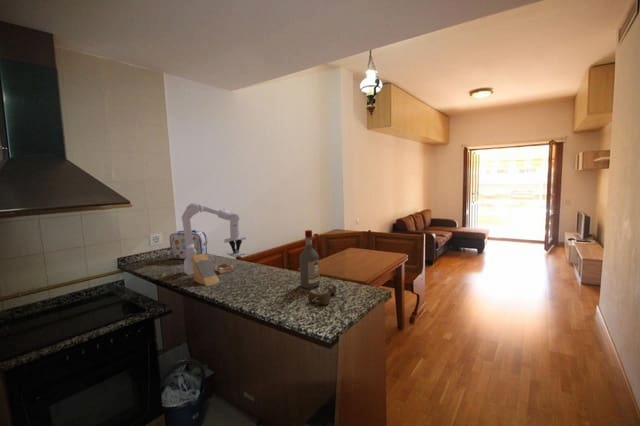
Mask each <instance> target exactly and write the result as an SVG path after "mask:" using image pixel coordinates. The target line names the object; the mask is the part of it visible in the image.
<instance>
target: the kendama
mask: <svg viewBox="0 0 640 426" xmlns="http://www.w3.org/2000/svg"><path fill="white" fill-rule="evenodd" d="M336 292H337V287H336V285H335V284H333V283H329V284H328V285H327V286H326V287H324V289H323V291H322V292H321V293H318V292H316V291H315V290H314V289H311V290H309V291H308V293H307V300H308V302H310V303H314V302H316V301H317V302H321V303H322V305H324V306H327V305H326V304H328V303H329V304H330V302H331V295H332V293H334V294H336ZM329 304H328V305H329Z"/></svg>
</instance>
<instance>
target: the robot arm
mask: <svg viewBox="0 0 640 426" xmlns="http://www.w3.org/2000/svg"><path fill="white" fill-rule="evenodd" d="M199 212H200V213H203V212H205V213H210V214H214V215H216V216H217V218H219V219H223V220H226V221H229V230H230V237H229V238H225V239H223V241H224V243H226V244H227V243H228V244H229V245H230V247H231V250H232V252H235V249H238V250H239V251H240V248H241V245H242V244H243V243H242V242H243V240H247V237H246V236H245V235H243V236H240V224H239V220H240V217H239V215H238V214H237V213H236V212H233V211H228V210H226V209H225V208H221V209H216V208H213V207H211V206H208V205H206V204H200V203H196V202H192V203H190V204H188V205H187V207H186V208H185V210H184V212H183V213H182V215H181V221H182V226H183V231H184V235H185V242H186V258H185V259H184V261H183V265H184V266H183V268H184V270H183V271H182V272H183V273H184V274H186V275H188V276H190V275H194V271H193V260H192V256H194V255H197V254H196V249H195V248H194V244H193V237H192V223H191V219H192V218H193V217H194V216H195V215H197V214H198V213H199Z"/></svg>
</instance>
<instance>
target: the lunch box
mask: <svg viewBox="0 0 640 426" xmlns="http://www.w3.org/2000/svg"><path fill="white" fill-rule="evenodd" d="M191 230H192V229H191ZM192 237H193V244H194V248H195V249H196V254H197V255H198V254H204V253H206V255H207V254H208V247H207V246H208V243H209V241H208V238H207V235H206V233H205V232H203V231H200V230H197V229H193V230H192ZM169 244H170V245H169V246H170V254H171V257H173V259H178V260H185V258H186V242H185V235H184V230H179V231H176V232H173V233H171V234H170V235H169Z"/></svg>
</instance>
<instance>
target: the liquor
mask: <svg viewBox="0 0 640 426" xmlns="http://www.w3.org/2000/svg"><path fill="white" fill-rule="evenodd" d="M304 237H305V247H304V250H303V251H302V252H301V253H300V254H299V274H300V276H299V277H300V278H299V279H300V280H299V281H300V286H301V287H302V288H305V287H306V289H314V287H315V288H317V287H319V286H318V285H320V284H321V282H320V281H321V280H320V255H319V253H318V252H317V251H316V250H315V249H314V247H313V230H312V229H311V230H309V229H307V230H305V231H304ZM316 286H317V287H316Z"/></svg>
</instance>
